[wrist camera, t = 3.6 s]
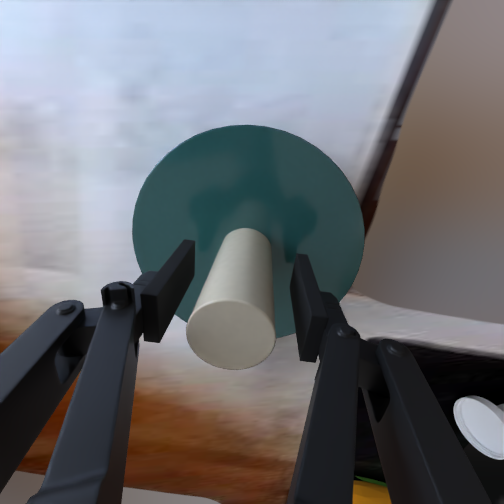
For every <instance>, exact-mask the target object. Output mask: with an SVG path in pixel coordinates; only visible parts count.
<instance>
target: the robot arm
mask: <svg viewBox="0 0 504 504" xmlns="http://www.w3.org/2000/svg"><path fill="white" fill-rule="evenodd" d="M194 276H195V241H194V240H186V239H184V240H183V241H182V243H181V244H180V245H179V246H178V248H177V249H176V250H175V251H174V252H173V254H172V255H171V256H170V257H169V259H168V260H167V261H166V262H165V264H164V265H163V266H162V267H161V269H160V270H159V271H150V270H149V271H147V272H145V273H143V274H142V275H141V276H140V277H139V278H138V279H137V280H136V281H135V282H134V283H133V284H131V283H129V282H123V281H119V282H113V283H110V284H107V285H106V286H104V287H103V288H102V289H101V295H102V301H103V307H100V308H90V309H84V305H83V303H82V302H80V301H77V300H67V301H62V302H59V303H57V304H55V305H53V306H52V307H50V308H49V309H48V310H47V311H46V312H45V313H44V314H43V315H41V316H40V317H39V318H38V319H37V320H36V321H35V322H34V323H33V324H32V325H31V326H30V327H29V328H28V329H27V330H25V331H24V332H23V333H22V334H21V335H20V336H19V337H18V338H17V339H16V340H15V341H14V342H13V343H12V344H11V345H10V346H8V347H7V348H6V349H5V350H4V351H3V352H2V353H1V354H0V493H1V492H2V490H3V488H4V487H5V485H6V484H7V482H8V480H9V479H10V478H11V476H12V475H13V473H14V472H15V470H16V469H17V467H18V466H19V464H20V463H21V461H22V459H23V458H24V456H25V455H26V453H27V452H28V450H29V449H30V447H31V446H32V444H33V443H34V441H35V440H36V438H37V437H38V435H39V433H40V432H41V430H42V429H43V427H44V426H45V424H46V423H47V421H48V420H49V418H50V417H51V415H52V414H53V412H54V411H55V409H56V408H57V406H58V404H59V403H60V401H61V400H62V398H63V397H64V395H65V394H66V392H67V391H68V389H69V388H70V386H71V385H72V383H73V382H74V380H75V378H76V377H77V375H78V374H79V372H80V371H81V373H80V375H79V378H78V381H77V384H76V387H75V390H74V393H73V396H72V399H71V402H70V405H69V408H68V411H67V414H66V417H65V419H64V422H63V425H62V428H61V431H60V434H59V437H58V440H57V443H56V446H55V449H54V452H53V455H52V458H51V460H50V463H49V466H48V469H47V472H46V475H45V478H44V481H43V484H42V486H41V488H40V490H39V491H38V493H37V494H35V495H33V496H32V497H30V498H29V500H28V502H27V503H26V504H121V499H122V492H123V483H124V474H125V466H126V457H127V449H128V440H129V432H130V423H131V415H132V406H133V397H134V389H135V380H136V372H137V363H138V355H139V338H140V337H141V335H142V333H143V335H144V341H148V342H156V343H160V341H161V339H162V337H163V335H164V333H165V332H166V330H167V328H168V326H169V324H170V322H171V320H172V318H173V316H174V314H175V312H176V310H177V309H178V307H179V305H180V303H181V301H182V299H183V297H184V295H185V293H186V291H187V289H188V287H189V285H190V284H191V282H192V280H193V278H194ZM289 288H290V295H291V302H292V309H293V316H294V323H295V330H296V336H297V343H298V350H299V357H300V361H306V362H314V363H316V360H317V356H318V355H319V360H320V363H319V367H318V370H317V373H316V377H315V383H314V388H313V392H312V396H311V400H310V405H309V409H308V413H307V418H306V422H305V426H304V430H303V435H302V439H301V443H300V448H299V452H298V456H297V460H296V465H295V469H294V473H293V477H292V482H291V486H290V490H289V495H288V499H287V503H286V504H353V484H354V463H355V441H356V420H357V399H358V386H359V387H361V388H362V391H363V395H364V399H365V402H366V406H367V410H368V414H369V418H370V422H371V426H372V430H373V434H374V438H375V441H376V445H377V449H378V453H379V457H380V461H381V465H382V469H383V473H384V476H385V480H386V484H387V488H388V492H389V496H390V500H391V504H492V503H491V501H490V499H489V497H488V496H487V493H486V492H485V490H484V488H483V486H482V484H481V482H480V480H479V478H478V477H477V475H476V473H475V471H474V469H473V467H472V465H471V463H470V462H469V460H468V458H467V456H466V454H465V453H464V450H463V448H462V447H461V445H460V443H459V441H458V439H457V437H456V435H455V433H454V431H453V430H452V428H451V426H450V424H449V422H448V420H447V418H446V416H445V415H444V413H443V411H442V409H441V407H440V405H439V403H438V401H437V400H436V398H435V396H434V394H433V392H432V390H431V388H430V386H429V385H428V383H427V381H426V379H425V377H424V375H423V373H422V371H421V370H420V368H419V366H418V364H417V362H416V360H415V358H414V356H413V355H412V353H411V352H410V350H409V349H408V348H407V347H406V346H404V345H403V344H401V343H400V342H398V341H395V340H392V339H383V340H381V341H380V342H379V345H377V344H374V343H371V342H368V341H365V340H363V339H361V338H360V335H359V333H358V332H357V330H355V329H354V328H353V327H351V326H349V325H348V323H347V321H346V318H345V316H344V314H343V311H342V310H341V307H340V305H339V302H338V300H337V298H336V297H335V296H334V295H333V294H332V293H330V292H322V291H320V290H319V287H318V284H317V281H316V278H315V275H314V272H313V269H312V266H311V263H310V260H309V257H308V255H306V254H298V253H296V258H295V263H294V267H293V272H292V277H291V282H290V287H289ZM81 369H82V370H81Z"/></svg>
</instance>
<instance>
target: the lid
mask: <svg viewBox="0 0 504 504" xmlns="http://www.w3.org/2000/svg"><path fill="white" fill-rule="evenodd" d="M132 235H133V244H134V250H135V254H136V258H137V262H138V264H139V267H140V269H141V272H142V274H143V273H145V272H147V271H149V270H150V271H159V270H160V269H161V267H162V266H163V265H164V264H165V262H166V261H167V260H168V259H169V257H170V256H171V255H172V254H173V252H174V251H175V250H176V249H177V248H178V246H179V245H180V244H181V243H182V241H183V240H184V239H186V240H194V241H195V276H194V278H193V280H192V282H191V284H190V285H189V287H188V289H187V291H186V293H185V295H184V297H183V299H182V301H181V303H180V305H179V307H178V309H177V310H176V312H175V315H177V316H178V317H179V318H181V319H182V320H184V321H185V322H187V326H186V336H187V340H188V343H189V345H190V347H191V349H192V350H193V351H194V353H195V354H196V355H197V356H198V357H200V358H201V359H202V360H204V361H205V362H207V363H209V364H211V365H213V366H216V367H219V368H223V369H230V370H239V369H246V368H250V367H253V366H255V365H258V364H259V363H261V362H262V361H264V360H265V359H266V358H267V357H268V356H269V355H270V354H271V352H272V350H273V348H274V346H275V343H276V338H280V337H284V336H287V335H290V334H294V333H296V330H295V323H294V316H293V309H292V302H291V295H290V288H289V287H290V282H291V277H292V272H293V267H294V263H295V258H296V253H298V254H306V255H308V257H309V260H310V263H311V266H312V269H313V272H314V275H315V278H316V281H317V284H318V287H319V290H320V291H322V292H330V293H332V294H333V295H334V296H335V297H336V298H337V300H338V302H340V301H341V300H342V299H343V297H344V296H345V295H346V293H347V292H348V290H349V289H350V287H351V285H352V284H353V282H354V280H355V277H356V275H357V273H358V271H359V267H360V264H361V260H362V256H363V250H364V222H363V215H362V211H361V208H360V205H359V201H358V198H357V196H356V194H355V192H354V190H353V188H352V186H351V184H350V182H349V181H348V179H347V178H346V176H345V175H344V173H343V172H342V171H341V169H340V168H339V167H338V166H337V165H336V164H335V163H334V162H333V161H332V160H331V159H330V158H329V157H328V156H327V155H326V154H324V153H323V152H322V151H321V150H319V149H318V148H317V147H316V146H314V145H312V144H310V143H309V142H307V141H305V140H304V139H302V138H300V137H298V136H295V135H293V134H290V133H288V132H285V131H282V130H278V129H274V128H270V127H265V126H255V125H234V126H226V127H221V128H216V129H211V130H209V131H206V132H203V133H200V134H197V135H195V136H193V137H191V138H189V139H188V140H186V141H184V142H182V143H180V144H179V145H178V146H176V147H175V148H174V149H172V150H171V151H170V152H168V153H167V154H166V155H165V156H164V157H163V158H162V159H161V160H160V161H159V162H158V163H157V164H156V166H155V167H154V168H153V170H152V171H151V172H150V174H149V175H148V177H147V178H146V180H145V182H144V184H143V186H142V188H141V190H140V192H139V195H138V198H137V202H136V205H135V210H134V215H133V228H132Z"/></svg>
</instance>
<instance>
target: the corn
mask: <svg viewBox="0 0 504 504" xmlns="http://www.w3.org/2000/svg"><path fill="white" fill-rule="evenodd" d="M356 477H357V478H359V479H361V480H363V481H356V480H354V484H353V504H391V500H390V496H389V492H388V488H387V484H386V483H384V482H380V481H377V480H373V479H369V478H364V477H359V476H356ZM365 481H367V482H365ZM369 482H370V483H369ZM373 483H374V484H373Z"/></svg>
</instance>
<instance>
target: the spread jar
mask: <svg viewBox="0 0 504 504" xmlns="http://www.w3.org/2000/svg"><path fill="white" fill-rule="evenodd" d="M454 417H455V420H456V423H457V425H458V427H459V429H460V430H461V432H462V434H463V435H464V436H465V437H466V439H467V440H468V441H469V442H470V443H471V444H472V445H473V446H474V447H475V448H476V449H477V450H479V451H480V452H482V453H483V454H485V455H487V456H489V457H491V458H494V459H499V460H501V459H504V395H501V396H498V397H496V398H494V399H492V400H490V401H488V400H486V399H484V398H482V397H479V396H474V395H472V396H466V397H463V398H460V399H458V400H457V401H456V402H455V404H454Z"/></svg>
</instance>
